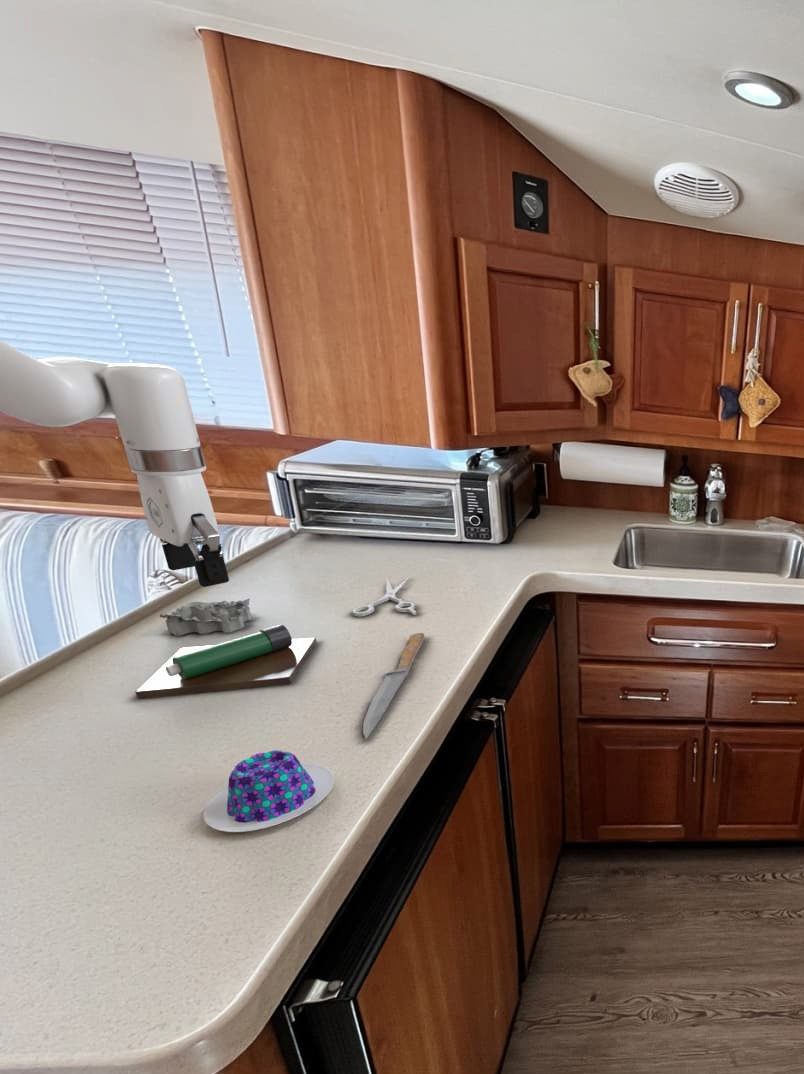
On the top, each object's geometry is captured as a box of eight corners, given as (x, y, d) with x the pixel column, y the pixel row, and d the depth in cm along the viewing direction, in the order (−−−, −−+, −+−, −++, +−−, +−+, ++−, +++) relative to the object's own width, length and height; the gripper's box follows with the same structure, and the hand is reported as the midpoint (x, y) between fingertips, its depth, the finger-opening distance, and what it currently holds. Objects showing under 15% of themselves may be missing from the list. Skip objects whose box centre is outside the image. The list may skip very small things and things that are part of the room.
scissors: (349, 616, 117) (368, 577, 134) (350, 620, 118) (369, 581, 134) (415, 611, 121) (426, 574, 138) (416, 615, 122) (426, 577, 138)
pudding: (317, 755, 82) (308, 721, 80) (350, 800, 76) (341, 764, 74) (194, 799, 74) (181, 763, 72) (219, 854, 67) (205, 815, 65)
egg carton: (162, 637, 107) (154, 615, 105) (187, 618, 113) (180, 597, 112) (238, 633, 110) (232, 612, 108) (258, 615, 116) (252, 595, 115)
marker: (177, 687, 92) (172, 666, 91) (163, 674, 94) (158, 653, 92) (293, 650, 105) (290, 631, 103) (279, 639, 106) (277, 620, 104)
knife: (405, 633, 112) (424, 632, 113) (406, 639, 112) (425, 638, 113) (349, 737, 85) (374, 734, 86) (350, 744, 86) (376, 741, 87)
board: (137, 699, 91) (135, 691, 90) (183, 654, 102) (181, 647, 102) (291, 684, 97) (289, 677, 97) (317, 643, 109) (315, 637, 108)
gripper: (103, 451, 88) (139, 568, 94) (159, 474, 80) (194, 598, 87) (173, 447, 94) (203, 556, 100) (231, 467, 87) (259, 583, 93)
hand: (199, 575), depth 93 cm, fingers open, 9 cm apart
